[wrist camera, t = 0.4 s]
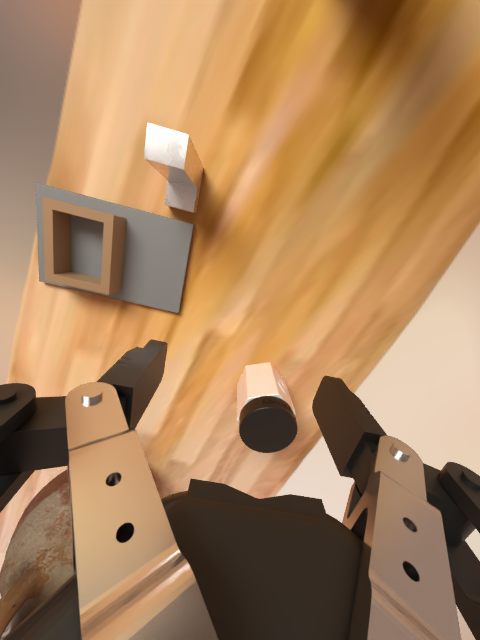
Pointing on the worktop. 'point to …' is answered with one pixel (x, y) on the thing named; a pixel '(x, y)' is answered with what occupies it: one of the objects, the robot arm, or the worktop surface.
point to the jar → (265, 409)
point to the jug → (37, 554)
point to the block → (175, 165)
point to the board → (111, 249)
